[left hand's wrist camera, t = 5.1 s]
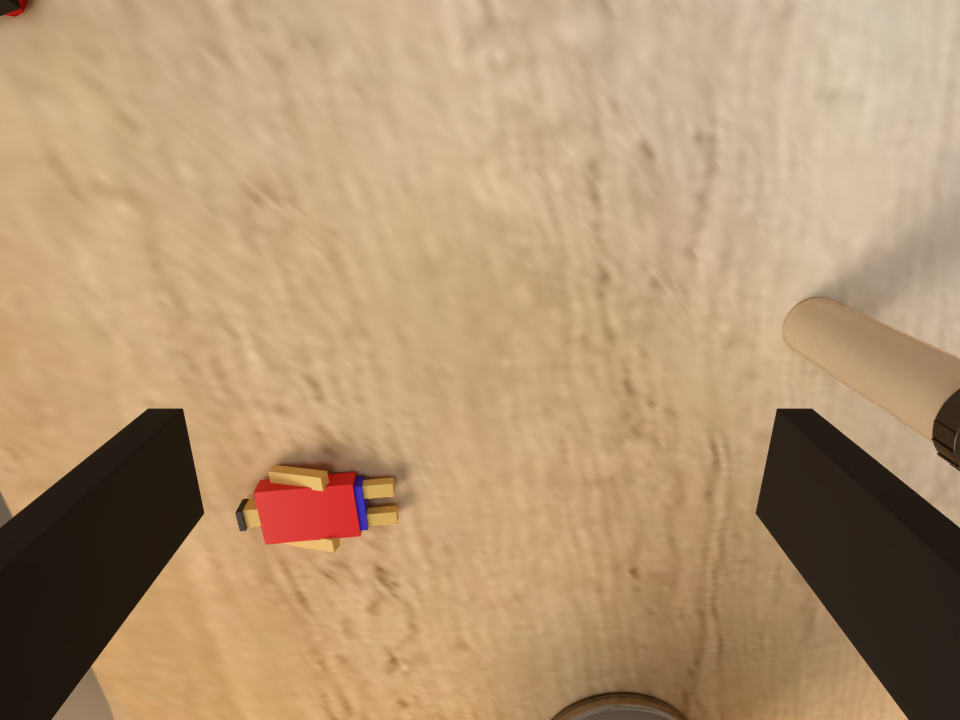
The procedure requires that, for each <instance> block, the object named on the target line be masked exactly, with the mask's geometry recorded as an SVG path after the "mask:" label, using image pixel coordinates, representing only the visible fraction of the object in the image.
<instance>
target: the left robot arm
mask: <svg viewBox="0 0 960 720" xmlns="http://www.w3.org/2000/svg"><path fill="white" fill-rule="evenodd" d="M203 514H204V510H203V505H202V500H201V495H200V490H199V485H198V480H197V475H196V470H195V466H194V461H193V456H192V451H191V446H190V441H189V436H188V431H187V426H186V422H185V417H184V412H183V409H147V410H146V411H145V412H143V413H142V414H141V415H140V416H138V417H137V418H136V419H135V420H133V421H132V422H131V423H130V424H129V425H127V426H126V427H125V428H124V429H122V430H121V431H120V432H119V433H117V434H116V435H115V436H114V437H112V438H111V439H110V440H109V441H107V442H106V443H105V444H104V445H102V446H101V447H100V448H99V449H97V450H96V451H95V452H94V453H93V454H91V455H90V456H89V457H88V458H86V459H85V460H84V461H83V462H81V463H80V464H79V465H78V466H76V467H75V468H74V469H73V470H71V471H70V472H69V473H68V474H66V475H65V476H64V477H63V478H61V479H60V480H59V481H58V482H57V483H55V484H54V485H53V486H52V487H50V488H49V489H48V490H47V491H45V492H44V493H43V494H42V495H40V496H39V497H38V498H37V499H35V500H34V501H33V502H32V503H30V504H29V505H28V506H27V507H25V508H24V509H23V510H22V511H20V512H19V513H18V514H17V515H16V516H14V517H13V518H12V519H11V520H9V521H8V522H7V523H6V524H4V525H3V526H2V527H1V528H0V720H51V719H52V718H53V717H54V715H55V714H56V713H57V711H58V710H59V709H60V707H61V706H62V705H63V703H64V702H65V701H66V699H67V698H68V696H69V695H70V694H71V692H72V691H73V690H74V688H75V687H76V686H77V684H78V683H79V682H80V680H81V679H82V678H83V676H84V675H85V674H86V672H87V671H88V670H89V668H90V667H91V666H92V664H93V663H94V661H95V660H96V659H97V657H98V656H99V655H100V653H101V652H102V651H103V649H104V648H105V647H106V645H107V644H108V643H109V641H110V640H111V639H112V637H113V636H114V634H115V633H116V632H117V630H118V629H119V628H120V626H121V625H122V624H123V622H124V621H125V620H126V618H127V617H128V616H129V614H130V613H131V612H132V610H133V609H134V608H135V606H136V605H137V603H138V602H139V601H140V599H141V598H142V597H143V595H144V594H145V593H146V591H147V590H148V589H149V587H150V586H151V585H152V583H153V582H154V581H155V579H156V578H157V576H158V575H159V574H160V572H161V571H162V570H163V568H164V567H165V566H166V564H167V563H168V562H169V560H170V559H171V558H172V556H173V555H174V554H175V552H176V551H177V550H178V548H179V547H180V545H181V544H182V543H183V541H184V540H185V539H186V537H187V536H188V535H189V533H190V532H191V531H192V529H193V528H194V527H195V525H196V524H197V523H198V521H199V520H200V518H201V517H202V516H203ZM756 514H757V516H758V517H759V518H760V520H761V521H762V523H763V524H764V525H765V527H766V528H767V529H768V531H769V532H770V533H771V535H772V536H773V537H774V539H775V540H776V541H777V543H778V544H779V545H780V547H781V548H782V550H783V551H784V552H785V554H786V555H787V556H788V558H789V559H790V560H791V562H792V563H793V564H794V566H795V567H796V568H797V570H798V571H799V572H800V574H801V575H802V576H803V578H804V579H805V581H806V582H807V583H808V585H809V586H810V587H811V589H812V590H813V591H814V593H815V594H816V595H817V597H818V598H819V599H820V601H821V602H822V603H823V605H824V606H825V608H826V609H827V610H828V612H829V613H830V614H831V616H832V617H833V618H834V620H835V621H836V622H837V624H838V625H839V626H840V628H841V629H842V630H843V632H844V633H845V634H846V636H847V637H848V639H849V640H850V641H851V643H852V644H853V645H854V647H855V648H856V649H857V651H858V652H859V653H860V655H861V656H862V657H863V659H864V660H865V661H866V663H867V664H868V666H869V667H870V668H871V670H872V671H873V672H874V674H875V675H876V676H877V678H878V679H879V680H880V682H881V683H882V684H883V686H884V687H885V688H886V690H887V691H888V692H889V694H890V695H891V697H892V698H893V699H894V701H895V702H896V703H897V705H898V706H899V707H900V709H901V710H902V711H903V713H904V714H905V715H906V717H907V718H908V719H909V720H960V528H959V527H958V526H957V525H956V524H954V523H953V522H952V521H951V520H949V519H948V518H947V517H946V516H944V515H943V514H942V513H941V512H940V511H938V510H937V509H936V508H935V507H933V506H932V505H931V504H930V503H928V502H927V501H926V500H925V499H923V498H922V497H921V496H920V495H918V494H917V493H916V492H915V491H913V490H912V489H911V488H910V487H908V486H907V485H906V484H905V483H903V482H902V481H901V480H900V479H899V478H897V477H896V476H895V475H894V474H892V473H891V472H890V471H889V470H887V469H886V468H885V467H884V466H882V465H881V464H880V463H879V462H877V461H876V460H875V459H874V458H872V457H871V456H870V455H869V454H867V453H866V452H865V451H864V450H863V449H861V448H860V447H859V446H858V445H856V444H855V443H854V442H853V441H851V440H850V439H849V438H848V437H846V436H845V435H844V434H843V433H841V432H840V431H839V430H838V429H836V428H835V427H834V426H833V425H831V424H830V423H829V422H828V421H827V420H825V419H824V418H823V417H822V416H820V415H819V414H818V413H817V412H815V411H814V410H813V409H777V412H776V417H775V422H774V426H773V431H772V436H771V441H770V446H769V451H768V456H767V461H766V466H765V470H764V475H763V480H762V485H761V490H760V495H759V500H758V505H757V510H756ZM553 720H685V718H684V717H683V716H682V715H681V714H680V713H679V712H678V711H677V710H675V709H674V708H672V707H671V706H669V705H667V704H666V703H664V702H661V701H659V700H656V699H654V698H650V697H646V696H641V695H635V694H610V695H603V696H598V697H594V698H590V699H587V700H584V701H581V702H579V703H577V704H575V705H573V706H571V707H569V708H567V709H566V710H564V711H563V712H561V713H560V714H559V715H557V716H556V717H555V718H554V719H553Z"/></svg>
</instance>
